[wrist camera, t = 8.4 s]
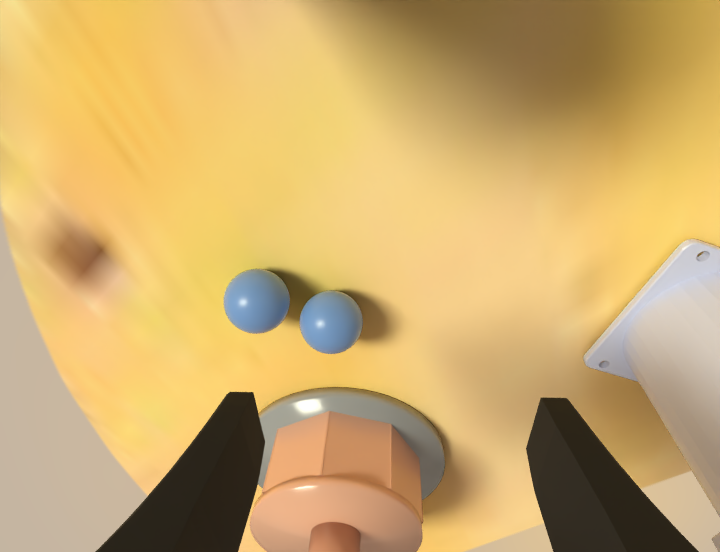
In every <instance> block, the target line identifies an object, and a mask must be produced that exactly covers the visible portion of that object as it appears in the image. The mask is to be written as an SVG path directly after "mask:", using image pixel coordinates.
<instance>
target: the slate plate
mask: <svg viewBox="0 0 720 552" xmlns="http://www.w3.org/2000/svg"><path fill="white" fill-rule="evenodd" d="M327 411H333V412H337V413H342V414H347V415H351V416H356V417H361V418H366V419H370V420H375V421H380V422H385V423H389V424H391V425H392V426H393V427H394V428H395V429H396V431H397V432H398V433H399V434H400V435H401V437H402V438H403V439H404V440H405V442H406V443H407V444H408V445H409V446H410V448H411V449H412V450H413V451H414V452H415V454H416V455H417V456H418V457H419V463H420V479H421V495H422V500H423V499H425V498H426V497H427V496H428V495H430V494H431V493H432V492H433V491H434V490H435V488H436V487H437V486H438V484H439V483H440V481H441V479H442V476H443V474H444V468H445V460H444V450H443V444H442V441H441V438H440V436H439V434H438V432H437V430H436V429H435V428H434V426H433V425H432V424H431V422H430V421H429V420H428V419H426V418H425V417H424V416H423V415H422V414H421V413H419V412H418V411H417V410H415V409H414V408H412V407H410V406H409V405H407V404H405V403H403V402H401V401H399V400H397V399H394V398H392V397H389V396H386V395H383V394H380V393H377V392H372V391H367V390H362V389H354V388H340V387H330V388H317V389H310V390H305V391H301V392H297V393H293V394H290V395H288V396H285V397H283V398H280V399H279V400H277V401H275V402H273V403H271V404H270V405H268V406H267V407H266V408H264V409H263V410H262V411H261V412H260V413H259V418H260V422H261V426H262V431H263V435H264V439H265V447H264V453H263V459H262V464H261V470H260V475H259V481H258V484H259V485H260V487H262V488H263V486H264V482H265V477H266V473H267V469H268V465H269V462H270V458H271V454H272V450H273V445H274V441H275V437H276V433H277V429H279V428H282V427H285V426H288V425H290V424H293V423H296V422H299V421H302V420H305V419H308V418H310V417H313V416H316V415H319V414H322V413H325V412H327Z"/></svg>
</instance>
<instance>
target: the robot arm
mask: <svg viewBox="0 0 720 552" xmlns="http://www.w3.org/2000/svg"><path fill="white" fill-rule="evenodd" d="M703 251H704V252H703ZM700 252H703V254H701V255H700V256H697V255H698V254H699V253H700ZM583 360H584V362H585V364H586V366H587V367H589V368H593V369H596V370H600V371H603V372H606V373H610V374H613V375H617V376H620V377H624V378H627V379H630V380H634V381H637V382H639V383H640V385H641V387H642V388H643V390H644V392H645V393H646V395H647V397H648V398H649V400H650V402H651V403H652V405H653V407H654V408H655V410H656V412H657V413H658V415H659V417H660V418H661V420H662V422H663V423H664V425H665V427H666V428H667V430H668V432H669V433H670V435H671V437H672V438H673V440H674V442H675V443H676V445H677V447H678V448H679V450H680V452H681V453H682V455H683V457H684V458H685V460H686V462H687V463H688V465H689V467H690V468H691V470H692V472H693V473H694V475H695V477H696V478H697V480H698V481H699V483H700V485H701V487H702V488H703V490H704V492H705V493H706V495H707V497H708V498H709V500H710V501H711V503H712V505H713V506H714V508H715V509H716V512H717V513H718V515H719V517H720V247H717V246H714V245H712V244H709V243H706V242H703V241H700V240H697V239H689V240H686V241H684V242H682V243H681V244H680V245H679V246H678V247H677V248H676V249H675V251H674V252H673V253H672V254H671V255H670V256H669V258H668V259H667V260H666V261H665V262H664V263H663V264H662V266H661V267H660V268H659V269H658V270H657V271H656V273H655V274H654V275H653V276H652V277H651V278H650V280H649V281H648V282H647V283H646V284H645V285H644V286H643V288H642V289H641V290H640V291H639V292H638V293H637V295H636V296H635V297H634V298H633V299H632V300H631V302H630V303H629V304H628V305H627V306H626V307H625V308H624V310H623V311H622V312H621V313H620V314H619V315H618V317H617V318H616V319H615V320H614V321H613V322H612V324H611V325H610V326H609V327H608V328H607V329H606V330H605V332H604V333H603V334H602V335H601V336H600V337H599V339H598V340H597V341H596V342H595V343H594V344H593V346H592V347H591V348H590V349H589V350H588V351H587V352H586V354H585V355H584V357H583ZM602 361H604V362H602ZM264 447H265V439H264V435H263V431H262V426H261V422H260V418H259V414H258V410H257V406H256V402H255V398H254V394H253V392H229V393H228V394H227V395H226V396H225V398H224V399H223V401H222V402H221V403H220V405H219V406H218V408H217V409H216V410H215V412H214V413H213V415H212V416H211V417H210V419H209V420H208V422H207V423H206V424H205V426H204V427H203V428H202V430H201V431H200V432H199V434H198V435H197V436H196V438H195V439H194V440H193V442H192V443H191V444H190V446H189V447H188V448H187V449H186V451H185V452H184V453H183V454H182V456H181V457H180V458H179V460H178V461H177V462H176V463H175V465H174V466H173V467H172V468H171V470H170V471H169V472H168V473H167V474H166V476H165V477H164V478H163V479H162V480H161V481H160V483H159V484H158V485H157V486H156V487H155V488H154V490H153V491H152V492H151V493H150V494H149V495H148V497H147V498H146V499H145V500H144V501H143V502H142V504H141V505H140V506H139V507H138V508H137V509H136V510H135V511H134V512H133V514H132V515H131V516H130V517H129V518H128V519H127V520H126V521H125V522H124V523H123V524H122V525H121V526H120V527H119V529H118V530H116V532H115V533H114V534H113V535H112V536H111V537H110V538H109V539H108V540H107V541H106V542H105V543H104V544H103V545H102V546H101V547H100V548H99V549H98V550H97V551H96V552H238V550H239V546H240V543H241V540H242V536H243V533H244V529H245V526H246V523H247V519H248V516H249V512H250V509H251V506H252V502H253V499H254V495H255V492H256V488H257V485H258V481H259V475H260V470H261V464H262V459H263V453H264ZM526 450H527V455H528V461H529V466H530V472H531V477H532V481H533V486H534V491H535V494H536V498H537V501H538V504H539V507H540V510H541V514H542V517H543V520H544V523H545V526H546V529H547V533H548V536H549V539H550V542H551V545H552V549H553V551H554V552H699V551H698V550H697V549H696V548H695V547H694V546H692V544H691V543H690V542H689V541H688V540H687V539H686V538H685V537H684V536H683V535H682V534H681V533H680V532H679V531H678V530H677V529H676V528H675V527H674V526H673V525H672V524H671V522H670V521H669V520H668V519H667V518H666V517H665V516H664V515H663V514H662V513H661V512H660V510H659V509H658V508H657V507H656V506H655V505H654V504H653V503H652V502H651V501H650V499H649V498H648V497H647V496H646V495H645V494H644V493H643V492H642V490H641V489H640V488H639V487H638V486H637V485H636V483H635V482H634V481H633V480H632V479H631V478H630V476H629V475H628V474H627V473H626V472H625V470H624V469H623V468H622V467H621V466H620V465H619V463H618V462H617V461H616V460H615V459H614V457H613V456H612V455H611V454H610V452H609V451H608V450H607V449H606V447H605V446H604V445H603V444H602V442H601V441H600V440H599V439H598V437H597V436H596V435H595V434H594V432H593V431H592V430H591V429H590V427H589V426H588V425H587V423H586V422H585V421H584V419H583V418H582V417H581V416H580V414H579V413H578V412H577V410H576V409H575V408H574V406H573V405H572V404H571V403H570V401H569V400H568V399H567V398H541V399H540V402H539V406H538V409H537V413H536V416H535V420H534V423H533V427H532V430H531V434H530V437H529V441H528V444H527V448H526ZM712 541H713V543H714V544H715V546H716V548H717V550H718V552H720V532H719V533H718V534H717V535H715V536H714V537H713V538H712Z"/></svg>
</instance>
